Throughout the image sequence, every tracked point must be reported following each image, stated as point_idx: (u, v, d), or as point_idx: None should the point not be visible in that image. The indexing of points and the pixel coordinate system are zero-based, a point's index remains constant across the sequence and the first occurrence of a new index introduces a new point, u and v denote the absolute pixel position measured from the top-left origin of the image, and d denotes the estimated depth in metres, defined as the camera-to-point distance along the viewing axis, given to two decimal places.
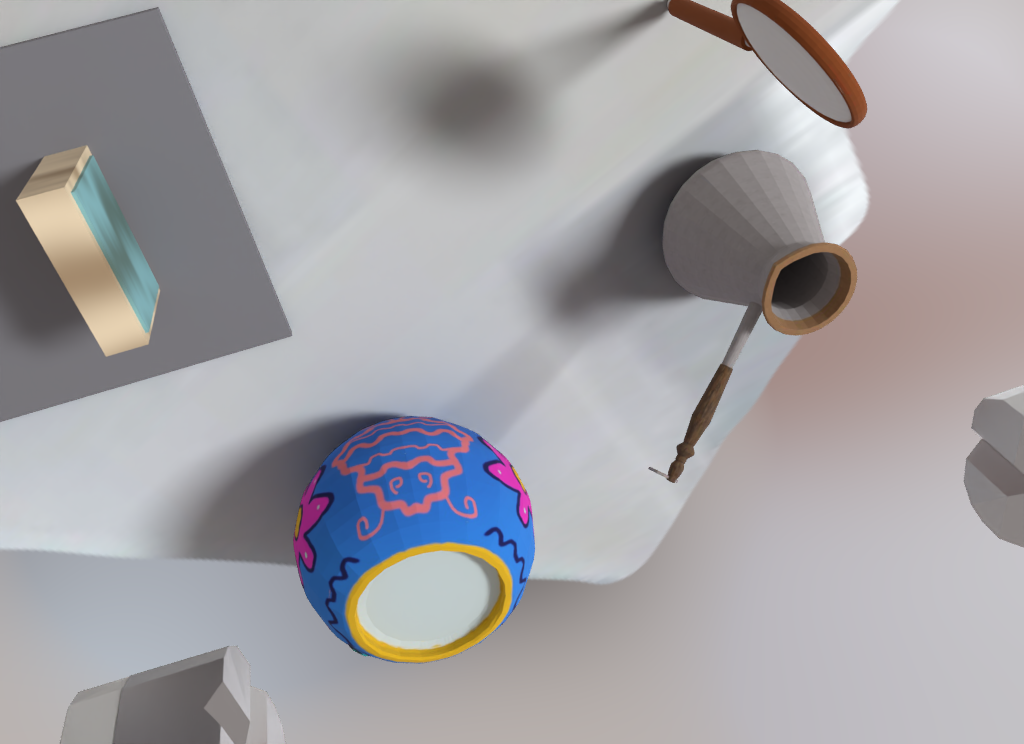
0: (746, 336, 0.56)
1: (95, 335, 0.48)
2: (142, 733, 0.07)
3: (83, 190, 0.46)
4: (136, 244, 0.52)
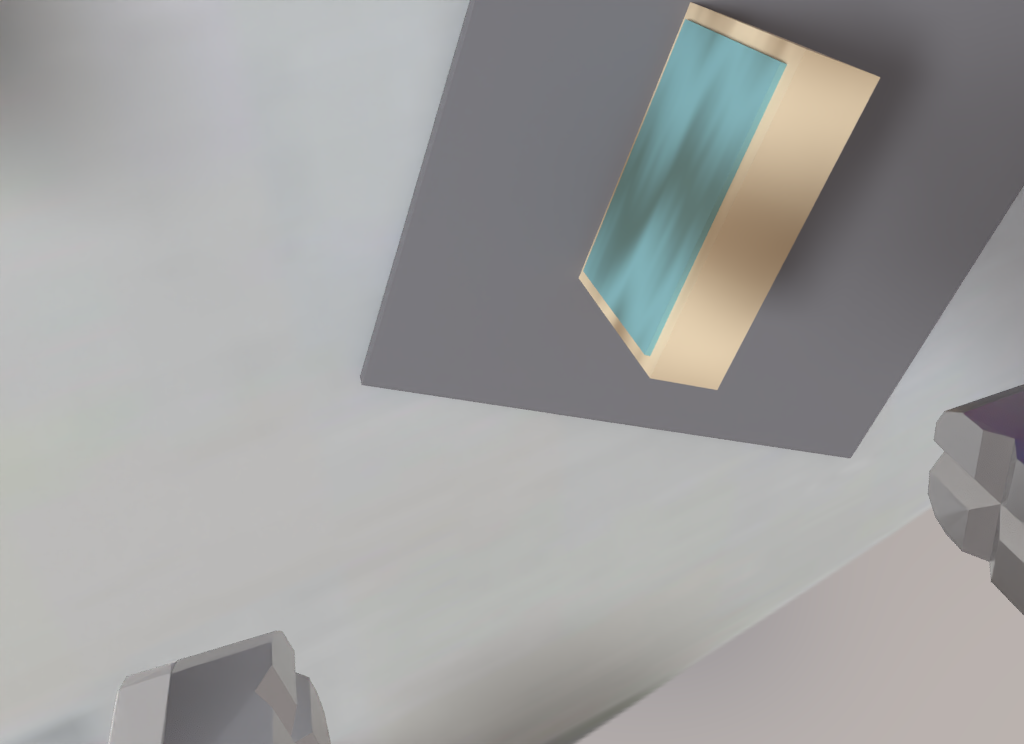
0: None
1: (849, 130, 0.23)
2: (194, 716, 0.07)
3: (633, 317, 0.27)
4: (648, 119, 0.28)
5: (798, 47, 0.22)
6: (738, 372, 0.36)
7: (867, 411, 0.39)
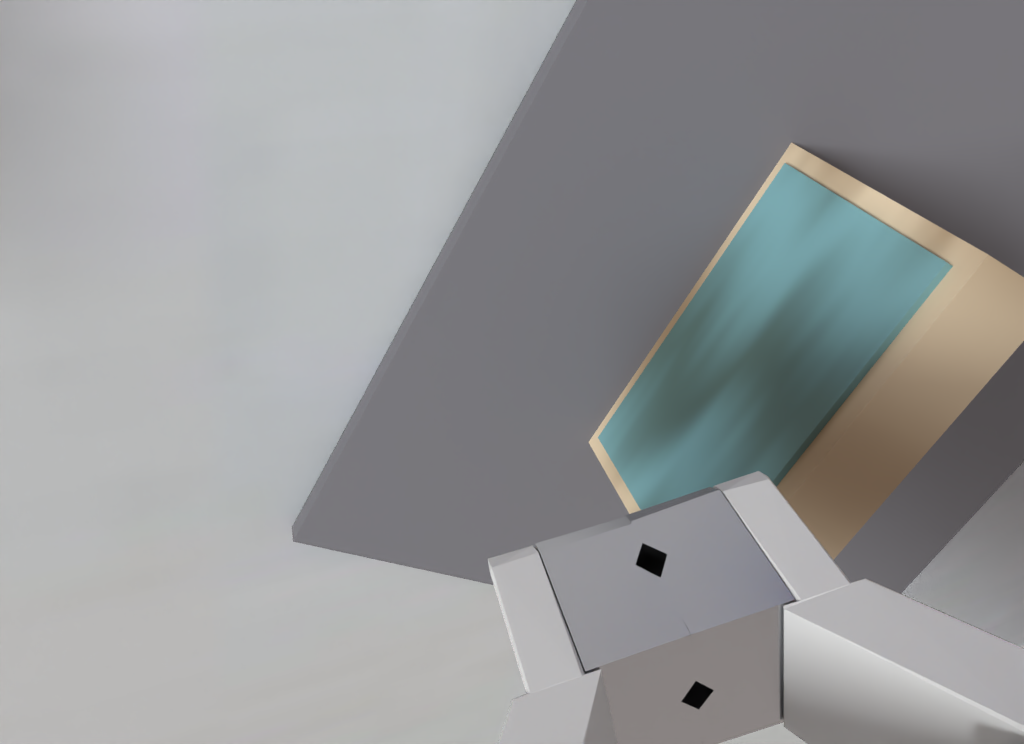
0: None
1: (1005, 357, 0.18)
2: (582, 587, 0.08)
3: None
4: (717, 274, 0.22)
5: (974, 248, 0.16)
6: None
7: None
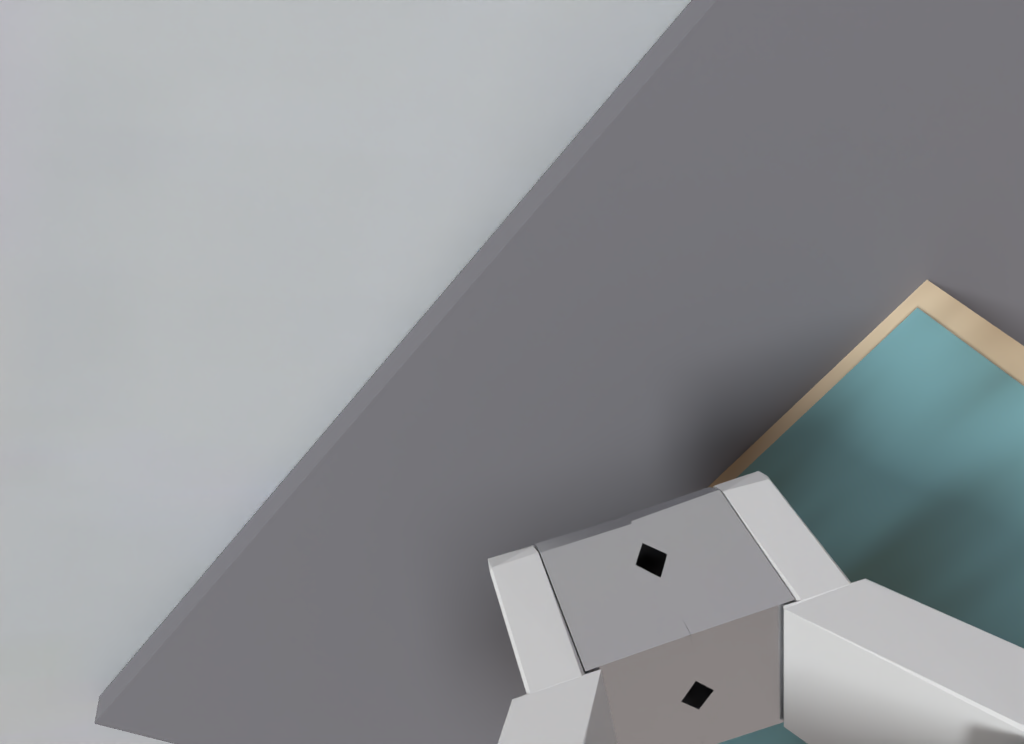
0: None
1: None
2: (582, 587, 0.08)
3: None
4: (789, 445, 0.15)
5: None
6: None
7: None
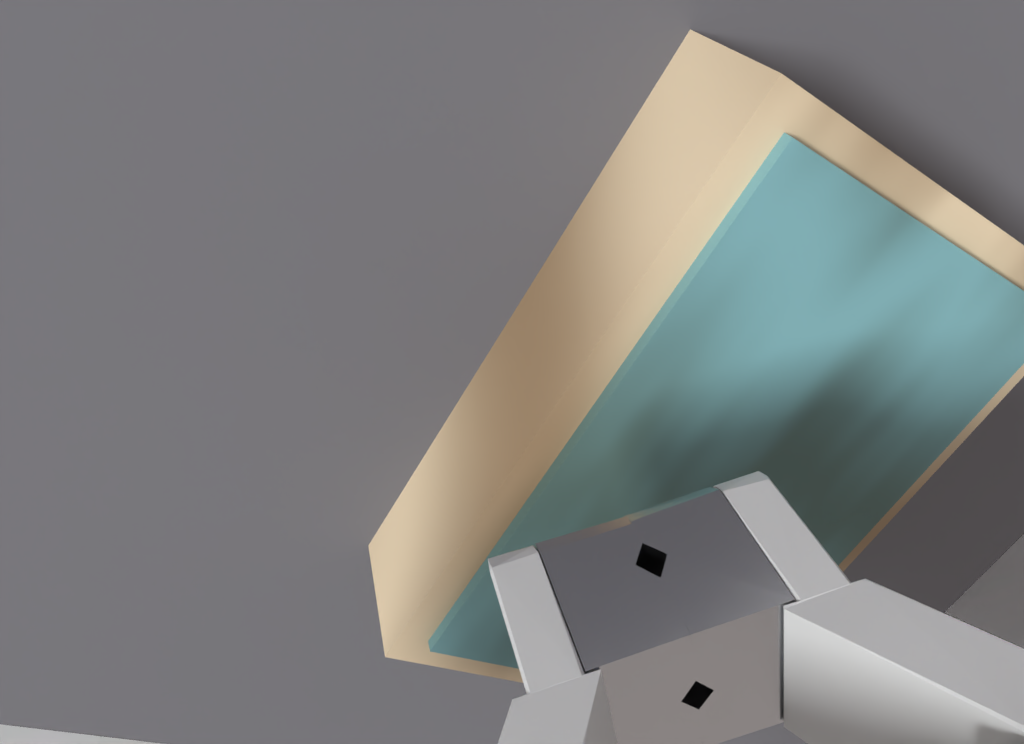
0: None
1: None
2: (582, 587, 0.08)
3: None
4: (656, 363, 0.11)
5: None
6: None
7: None
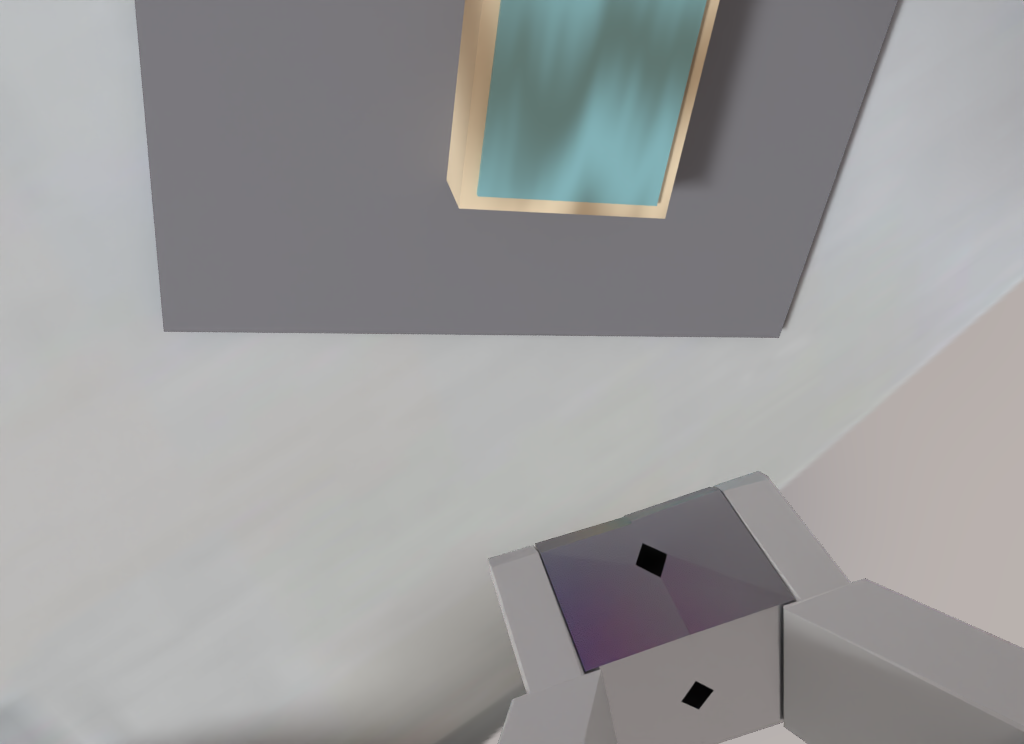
0: None
1: None
2: (583, 587, 0.08)
3: (617, 189, 0.27)
4: None
5: None
6: (604, 256, 0.31)
7: (783, 280, 0.34)
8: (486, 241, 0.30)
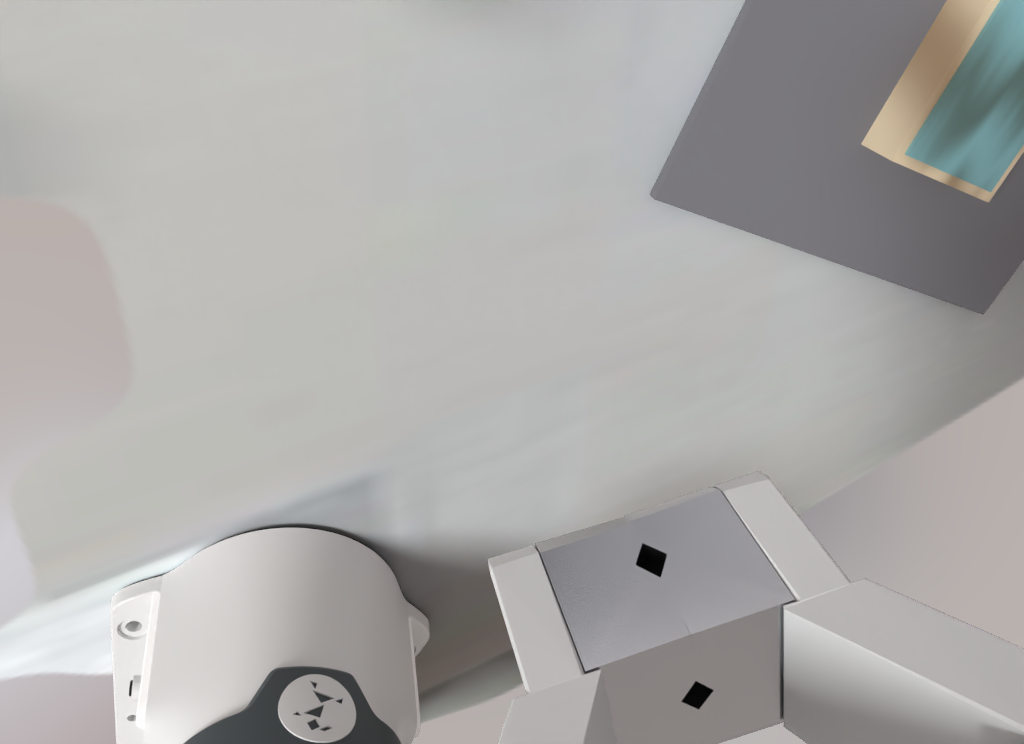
0: None
1: None
2: (582, 587, 0.08)
3: (977, 174, 0.42)
4: (986, 37, 0.38)
5: None
6: (917, 224, 0.46)
7: (1003, 273, 0.49)
8: (860, 193, 0.44)
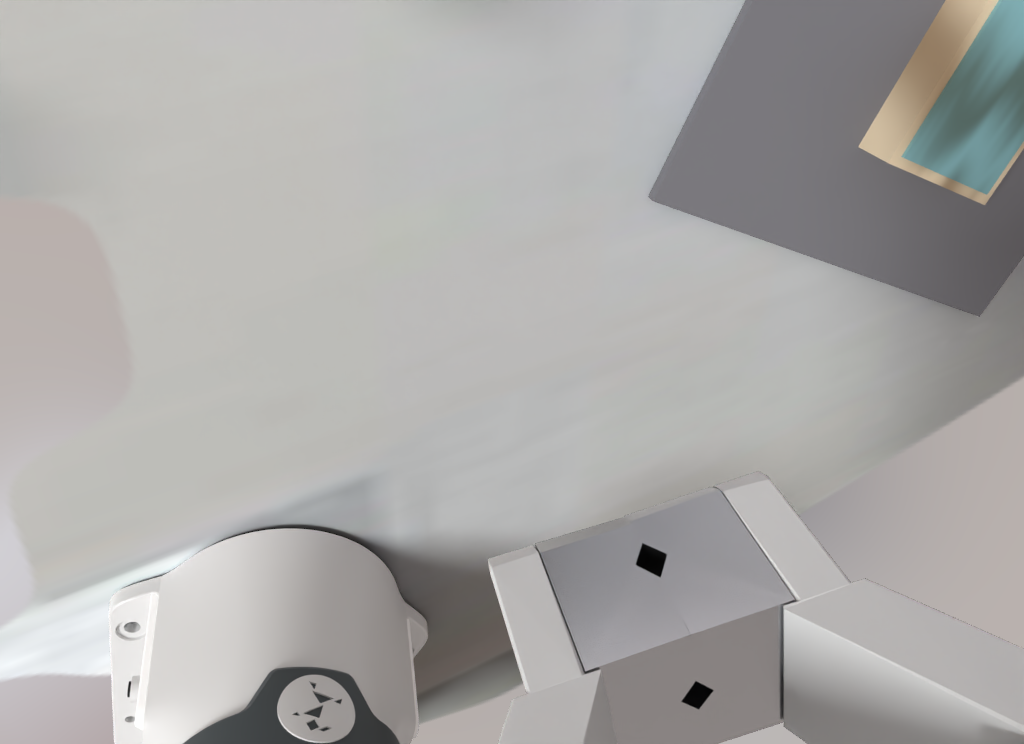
0: None
1: None
2: (582, 587, 0.08)
3: (973, 177, 0.42)
4: (982, 41, 0.38)
5: None
6: (914, 226, 0.46)
7: (999, 275, 0.50)
8: (857, 195, 0.44)
